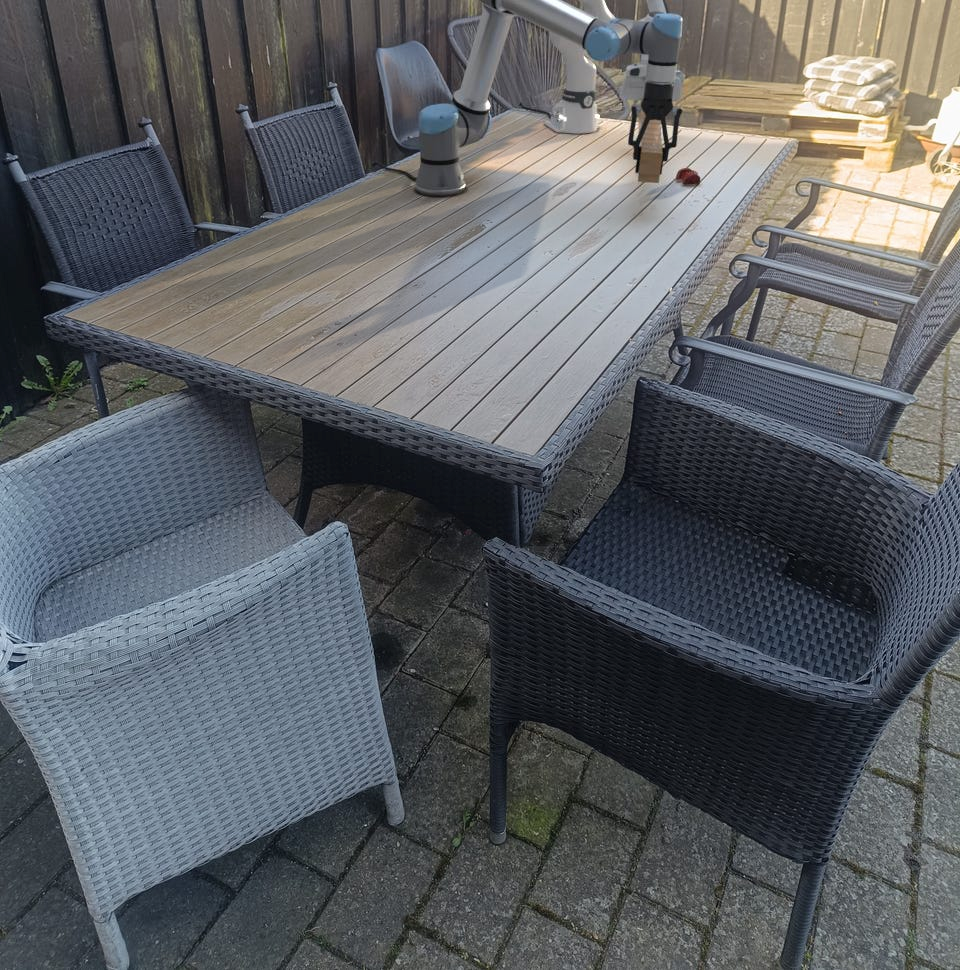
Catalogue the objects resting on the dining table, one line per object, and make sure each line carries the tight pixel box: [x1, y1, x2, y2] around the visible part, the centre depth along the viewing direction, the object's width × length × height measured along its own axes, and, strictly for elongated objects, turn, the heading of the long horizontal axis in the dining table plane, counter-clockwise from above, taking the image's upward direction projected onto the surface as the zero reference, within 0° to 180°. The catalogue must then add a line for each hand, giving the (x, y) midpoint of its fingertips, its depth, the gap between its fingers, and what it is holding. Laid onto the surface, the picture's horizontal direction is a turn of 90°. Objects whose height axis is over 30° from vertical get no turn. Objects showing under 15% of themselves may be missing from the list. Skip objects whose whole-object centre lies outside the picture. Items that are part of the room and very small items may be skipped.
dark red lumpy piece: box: [675, 167, 701, 186], centre depth 263 cm, size 6×4×8 cm
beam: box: [637, 99, 663, 184], centre depth 257 cm, size 78×6×8 cm, turn 171°
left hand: (648, 172), depth 234 cm, fingers closed on beam, 6 cm apart
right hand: (647, 114), depth 283 cm, fingers closed on beam, 5 cm apart
